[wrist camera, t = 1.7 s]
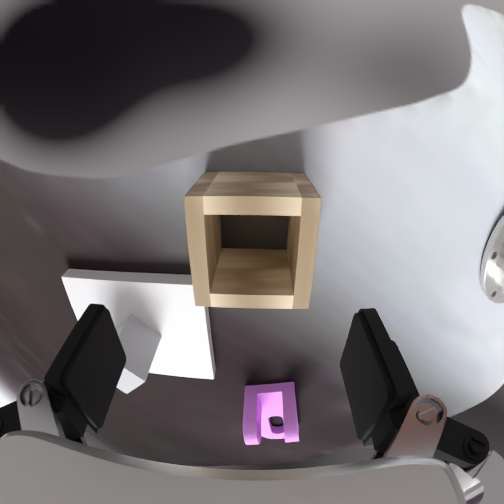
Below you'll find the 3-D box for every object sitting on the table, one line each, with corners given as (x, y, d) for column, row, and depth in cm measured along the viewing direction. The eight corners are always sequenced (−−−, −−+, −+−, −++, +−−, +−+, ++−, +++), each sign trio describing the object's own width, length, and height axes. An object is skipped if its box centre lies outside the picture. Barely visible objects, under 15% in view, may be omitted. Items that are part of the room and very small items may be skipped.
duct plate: (205, 275, 24) (187, 333, 18) (215, 368, 29) (207, 423, 23) (68, 268, 24) (30, 312, 18) (102, 354, 30) (80, 399, 23)
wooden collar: (304, 173, 20) (321, 198, 14) (298, 261, 23) (308, 308, 18) (205, 172, 20) (183, 196, 14) (210, 259, 23) (195, 306, 18)
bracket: (245, 384, 31) (242, 436, 25) (293, 380, 30) (298, 432, 24) (260, 432, 37) (260, 472, 31) (298, 429, 36) (301, 469, 30)
